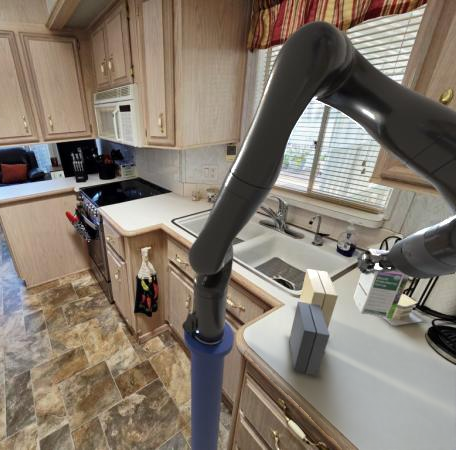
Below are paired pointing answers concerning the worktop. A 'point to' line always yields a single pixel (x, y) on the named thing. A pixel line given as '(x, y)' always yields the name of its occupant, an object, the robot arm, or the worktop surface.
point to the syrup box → (379, 291)
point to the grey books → (308, 338)
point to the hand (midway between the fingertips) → (379, 271)
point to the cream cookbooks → (319, 292)
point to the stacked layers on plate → (404, 312)
